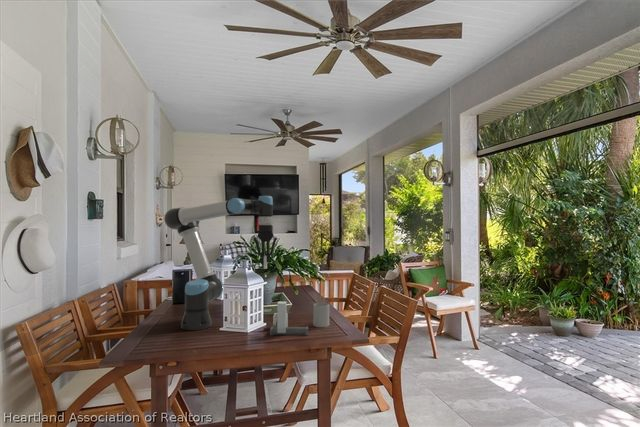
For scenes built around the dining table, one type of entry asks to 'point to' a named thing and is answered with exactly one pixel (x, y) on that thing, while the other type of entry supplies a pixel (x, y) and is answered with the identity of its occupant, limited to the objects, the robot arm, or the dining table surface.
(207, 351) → the dining table surface
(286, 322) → the gauge cabinet
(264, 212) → the robot arm
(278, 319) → the block
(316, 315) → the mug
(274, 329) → the rail
